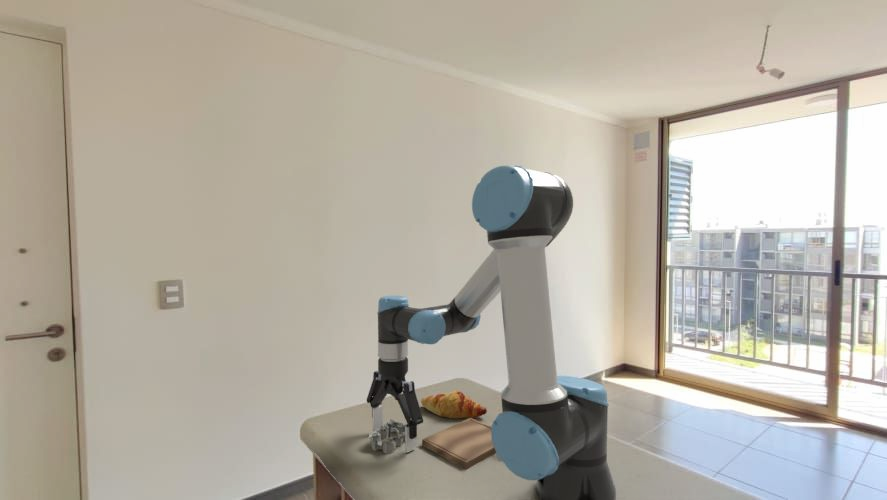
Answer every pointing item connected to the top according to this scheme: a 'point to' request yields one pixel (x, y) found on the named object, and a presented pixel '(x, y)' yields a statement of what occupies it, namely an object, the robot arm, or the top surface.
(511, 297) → the robot arm
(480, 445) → the walnut board
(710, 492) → the top surface
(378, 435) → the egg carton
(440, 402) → the croissant
